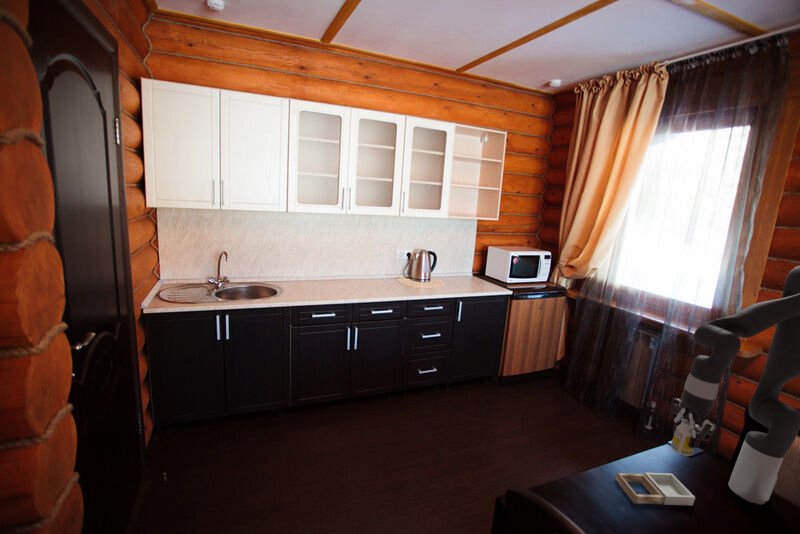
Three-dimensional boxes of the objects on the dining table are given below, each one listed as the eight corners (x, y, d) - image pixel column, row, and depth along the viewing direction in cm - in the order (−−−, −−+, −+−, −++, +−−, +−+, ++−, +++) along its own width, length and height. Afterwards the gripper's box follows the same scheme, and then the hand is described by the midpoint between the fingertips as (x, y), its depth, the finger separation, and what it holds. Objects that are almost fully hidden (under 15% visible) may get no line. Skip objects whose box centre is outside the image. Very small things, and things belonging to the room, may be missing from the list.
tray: (669, 481, 124) (671, 473, 124) (692, 505, 115) (695, 497, 114) (642, 480, 123) (644, 472, 123) (663, 504, 114) (666, 496, 114)
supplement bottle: (668, 448, 116) (676, 421, 114) (673, 441, 119) (682, 415, 117) (689, 459, 112) (698, 431, 110) (694, 452, 115) (703, 425, 113)
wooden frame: (641, 480, 123) (643, 474, 123) (662, 504, 114) (664, 497, 114) (615, 479, 122) (617, 472, 122) (634, 503, 114) (636, 496, 113)
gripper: (734, 406, 104) (716, 458, 108) (692, 378, 118) (677, 425, 122) (709, 405, 104) (692, 457, 108) (669, 377, 117) (655, 424, 121)
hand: (684, 440), depth 115 cm, fingers closed on supplement bottle, 5 cm apart
